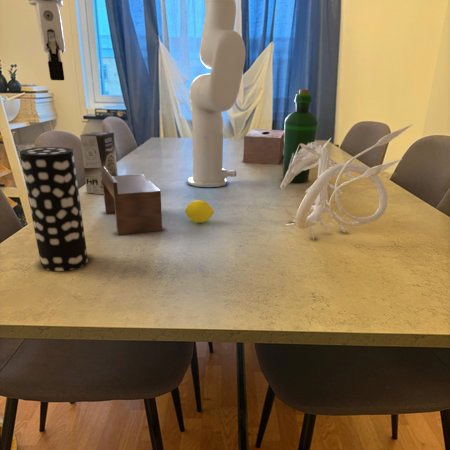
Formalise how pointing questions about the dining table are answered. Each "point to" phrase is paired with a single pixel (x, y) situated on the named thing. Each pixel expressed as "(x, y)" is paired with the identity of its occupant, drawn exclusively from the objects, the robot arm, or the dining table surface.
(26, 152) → the spotted tube
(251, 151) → the tissue box cover
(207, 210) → the lemon
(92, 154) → the coffee box
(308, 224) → the serpentine dragon sculpture
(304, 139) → the bottle
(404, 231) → the dining table surface
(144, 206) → the shelf
